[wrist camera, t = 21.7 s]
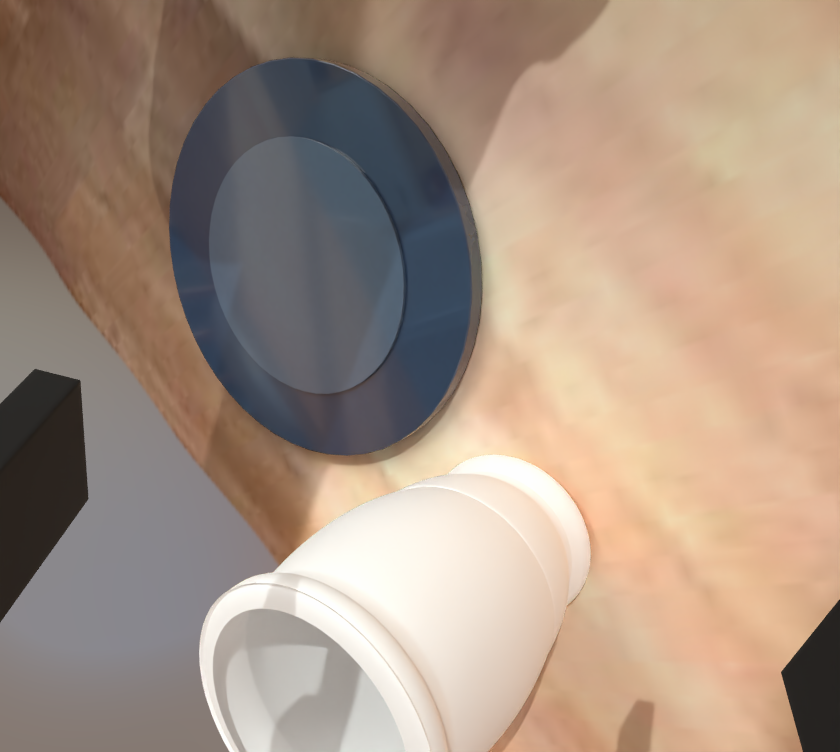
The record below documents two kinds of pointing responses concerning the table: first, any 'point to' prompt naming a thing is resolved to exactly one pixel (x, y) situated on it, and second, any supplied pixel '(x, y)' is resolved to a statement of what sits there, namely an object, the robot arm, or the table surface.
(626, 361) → the table surface
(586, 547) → the jar
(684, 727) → the table surface
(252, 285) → the plate
